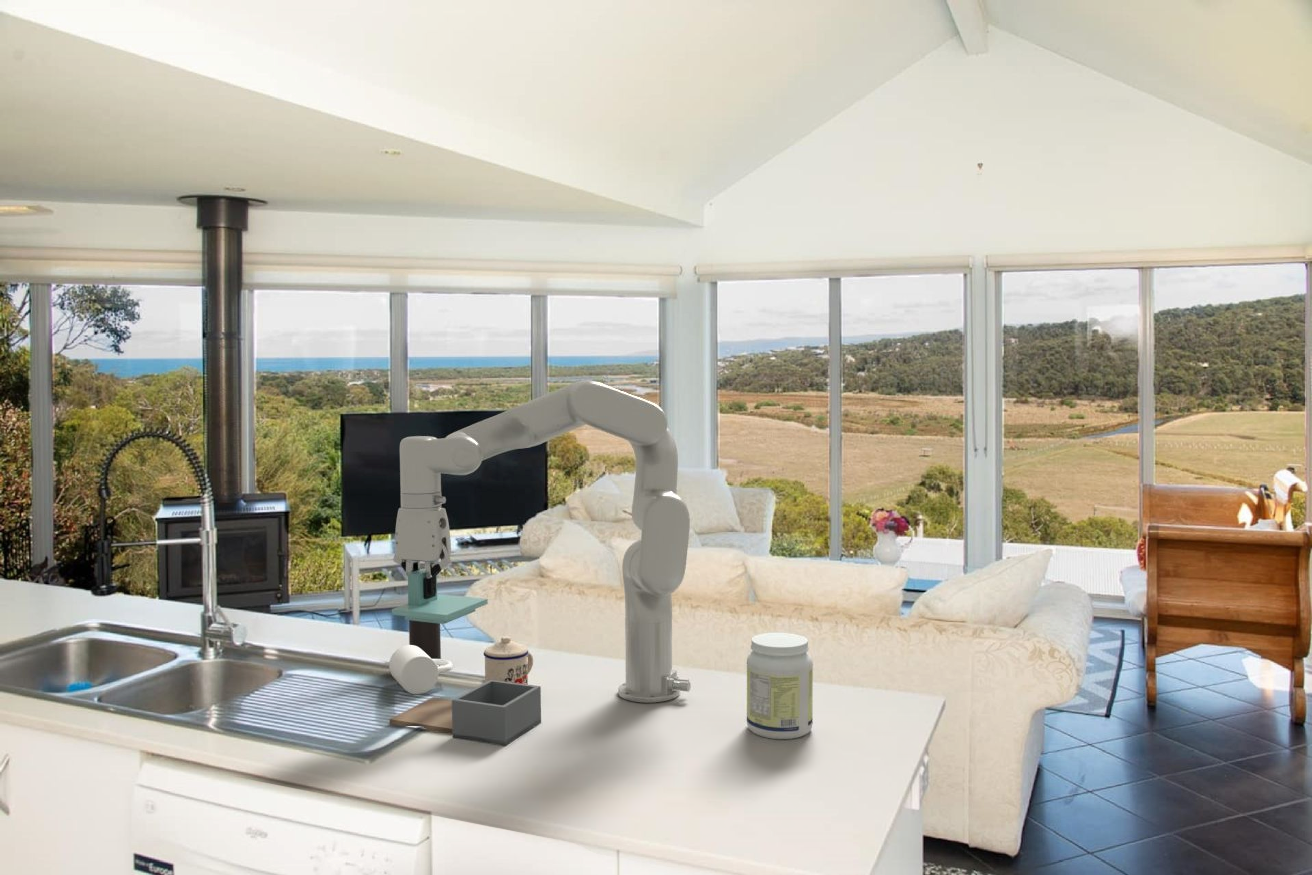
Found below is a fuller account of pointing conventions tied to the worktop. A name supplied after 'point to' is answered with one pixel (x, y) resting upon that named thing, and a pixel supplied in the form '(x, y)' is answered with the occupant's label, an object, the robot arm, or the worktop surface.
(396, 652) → the mug
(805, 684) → the supplement tub
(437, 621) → the lid
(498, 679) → the teacup with lid
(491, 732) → the tub
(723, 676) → the worktop surface
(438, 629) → the bottle
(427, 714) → the board
